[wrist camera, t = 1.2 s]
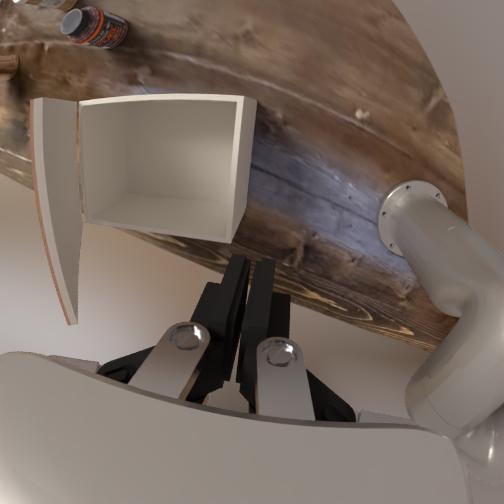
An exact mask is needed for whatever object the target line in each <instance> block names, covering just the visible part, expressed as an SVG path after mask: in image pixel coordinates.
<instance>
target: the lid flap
mask: <svg viewBox="0 0 504 504" xmlns="http://www.w3.org/2000/svg"><path fill="white" fill-rule="evenodd" d="M76 105H77V102H74V101H67V100H60V99H52V98H38V99H33V100H30V146H31V161H32V173H33V182H34V190H35V198H36V204H37V211H38V215H39V222H40V227H41V232H42V237H43V242H44V246H45V250H46V254H47V259H48V263H49V266H50V270H51V274H52V277H53V281H54V284H55V288H56V291H57V294H58V297H59V300H60V303H61V306H62V309H63V312H64V315H65V318H66V321H67V323H68V325H74V324H78V274H79V258H80V246H81V236H82V227H83V220H82V212H81V203H80V194H79V183H78V169H77V148H76Z"/></svg>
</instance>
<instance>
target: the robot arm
mask: <svg viewBox="0 0 504 504" xmlns="http://www.w3.org/2000/svg"><path fill="white" fill-rule="evenodd" d="M407 186H408V187H407ZM406 187H407V188H406ZM436 194H437V195H436ZM383 212H385V213H384V214H382V213H383ZM377 227H378V232H379V235H380V237H381V239H382V241H383V243H384V244H385V246H386V247H387V248H388V249H389V250H390V251H392V252H393V253H395V254H397V255H399V256H403V257H405V259H406V260H407V262H408V263H409V265H410V267H411V268H412V270H413V271H414V273H415V275H416V276H417V278H418V280H419V281H420V283H421V285H422V286H423V288H424V290H425V291H426V293H427V295H428V296H429V298H430V300H431V301H432V303H433V304H434V305H435V306H436V307H437V308H438V309H439V310H440V311H442V312H443V313H445V314H447V315H451V316H454V317H460V319H459V321H458V322H457V323H456V325H455V326H454V327H453V329H452V330H451V331H450V333H449V334H448V336H447V337H446V338H445V339H444V340H443V342H442V343H441V344H440V345H439V346H438V347H437V348H436V350H435V351H434V352H433V353H432V354H431V355H430V356H429V357H428V359H427V360H426V361H425V362H424V363H423V364H422V365H421V366H420V368H419V369H418V370H417V371H416V372H415V373H414V375H413V376H412V377H411V379H410V381H409V382H408V385H407V387H406V390H405V405H406V409H407V411H408V414H409V416H410V418H411V419H407V418H401V417H395V416H390V415H385V414H380V413H374V412H369V411H365V410H361V411H360V412H356V411H353V409H352V408H351V407H350V405H349V404H347V403H346V402H345V401H344V400H343V399H341V398H340V397H339V396H338V395H337V394H335V393H334V392H333V391H332V390H331V389H329V388H328V387H327V386H326V385H325V384H323V383H322V382H321V381H320V380H319V379H318V378H316V377H315V376H314V375H313V374H312V373H311V372H309V371H308V370H307V369H306V368H305V362H304V357H303V353H302V350H301V348H300V347H299V346H298V345H297V344H296V343H295V342H293V341H292V340H290V339H289V325H290V294H283V293H276V292H272V289H273V281H274V272H275V263H276V260H272V259H266V258H262V262H261V261H256V265H255V270H254V274H253V278H252V283H251V287H250V291H249V296H248V301H247V305H246V299H247V291H248V282H249V273H250V265H251V260H248V259H246V255H239V254H232V256H231V259H230V261H229V264H228V266H227V269H226V272H225V274H224V277H223V279H222V282H221V284H219V283H213V282H208V283H207V284H206V286H205V288H204V291H203V293H202V295H201V297H200V300H199V302H198V304H197V306H196V309H195V311H194V313H193V315H192V317H191V320H190V322H181V323H177V324H175V325H173V326H171V327H170V328H169V329H168V330H167V331H166V333H165V334H164V335H163V337H162V338H161V339H160V341H159V342H158V343H157V345H156V346H153V347H150V348H147V349H145V350H142V351H139V352H136V353H133V354H130V355H127V356H124V357H121V358H118V359H115V360H113V361H110V362H107V363H106V364H104V365H99V362H95V361H88V360H81V359H74V358H68V357H62V356H56V355H50V356H45V355H42V354H37V353H31V352H19V351H17V352H8V353H5V354H2V355H0V504H473V497H472V492H471V487H470V481H469V476H468V473H467V471H468V472H469V473H471V474H472V475H473V476H475V477H476V478H477V479H479V480H480V481H482V482H484V483H488V484H502V483H504V255H502V254H501V253H500V252H499V251H498V250H497V249H495V248H494V247H493V246H492V245H491V244H490V243H489V242H487V241H486V240H485V239H484V238H483V237H482V236H480V235H479V234H478V233H477V232H476V231H475V230H474V229H472V228H471V227H470V226H469V225H468V224H467V223H465V222H464V221H463V220H462V219H460V218H459V217H458V216H457V215H456V214H454V213H453V212H452V211H451V210H449V209H448V205H447V202H446V199H445V198H444V196H443V194H442V193H441V192H440V191H439V189H438V188H436V187H435V186H433V185H432V184H430V183H428V182H426V181H422V180H409V181H406V182H403V183H400V184H399V185H397V186H396V187H394V188H393V189H392V190H391V191H390V192H389V193H388V194H387V195H386V197H385V198H384V200H383V202H382V204H381V206H380V209H379V212H378V218H377ZM390 244H391V245H390ZM245 308H246V309H245ZM240 334H241V337H240ZM239 338H240V348H239V356H238V365H237V374H236V383H240V391H239V392H240V393H241V394H242V395H243V396H244V397H245V399H246V400H247V401H248V403H247V413H243V412H237V411H232V410H226V409H221V408H215V407H211V406H206V404H207V402H208V400H209V397H210V393H211V392H213V391H215V390H217V389H219V388H222V387H223V384H224V381H230V378H231V373H232V369H233V364H234V360H235V356H236V351H237V347H238V343H239Z"/></svg>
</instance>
